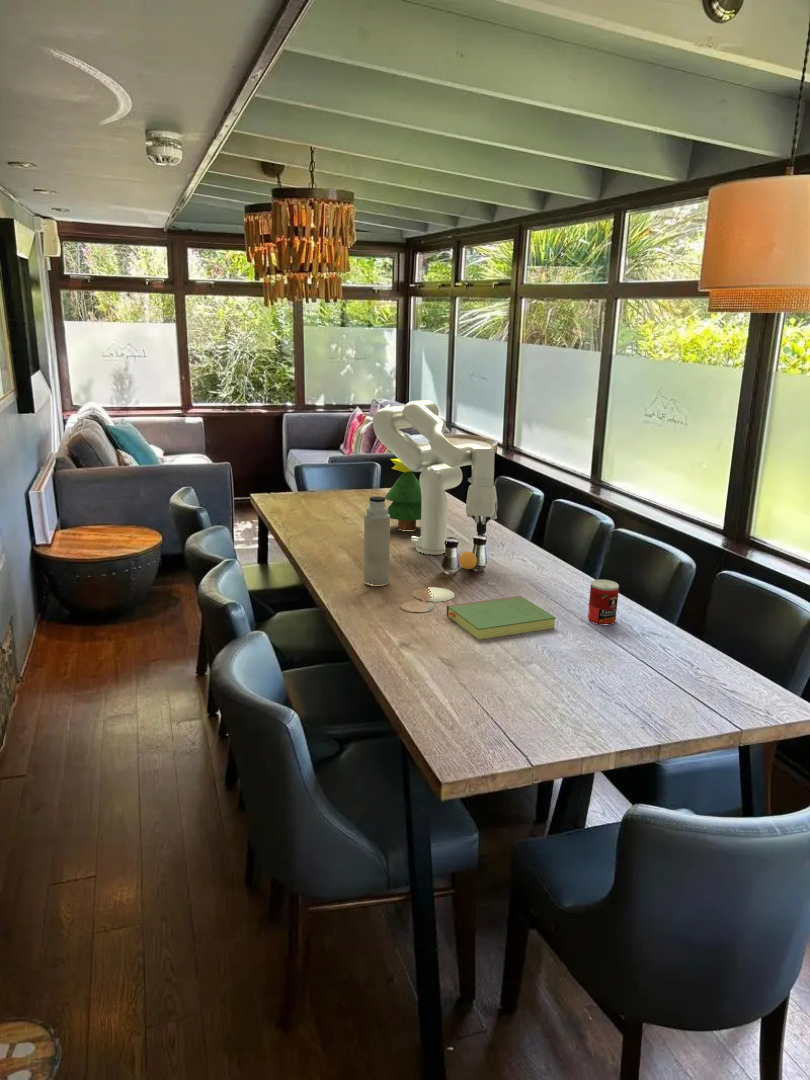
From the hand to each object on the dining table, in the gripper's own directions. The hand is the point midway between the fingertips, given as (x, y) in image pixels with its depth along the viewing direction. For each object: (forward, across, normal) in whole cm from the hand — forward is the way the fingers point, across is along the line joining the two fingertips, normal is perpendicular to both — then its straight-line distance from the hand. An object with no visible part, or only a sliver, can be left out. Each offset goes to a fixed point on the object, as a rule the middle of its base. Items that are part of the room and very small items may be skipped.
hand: (481, 534), depth 270 cm
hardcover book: (+12, +25, -50) cm, 58 cm away
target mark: (+10, 0, -39) cm, 41 cm away
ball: (+7, -1, -9) cm, 12 cm away
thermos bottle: (+10, -21, -38) cm, 45 cm away
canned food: (+12, +50, -34) cm, 62 cm away
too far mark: (+10, 0, -51) cm, 52 cm away
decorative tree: (+9, -42, +27) cm, 51 cm away
